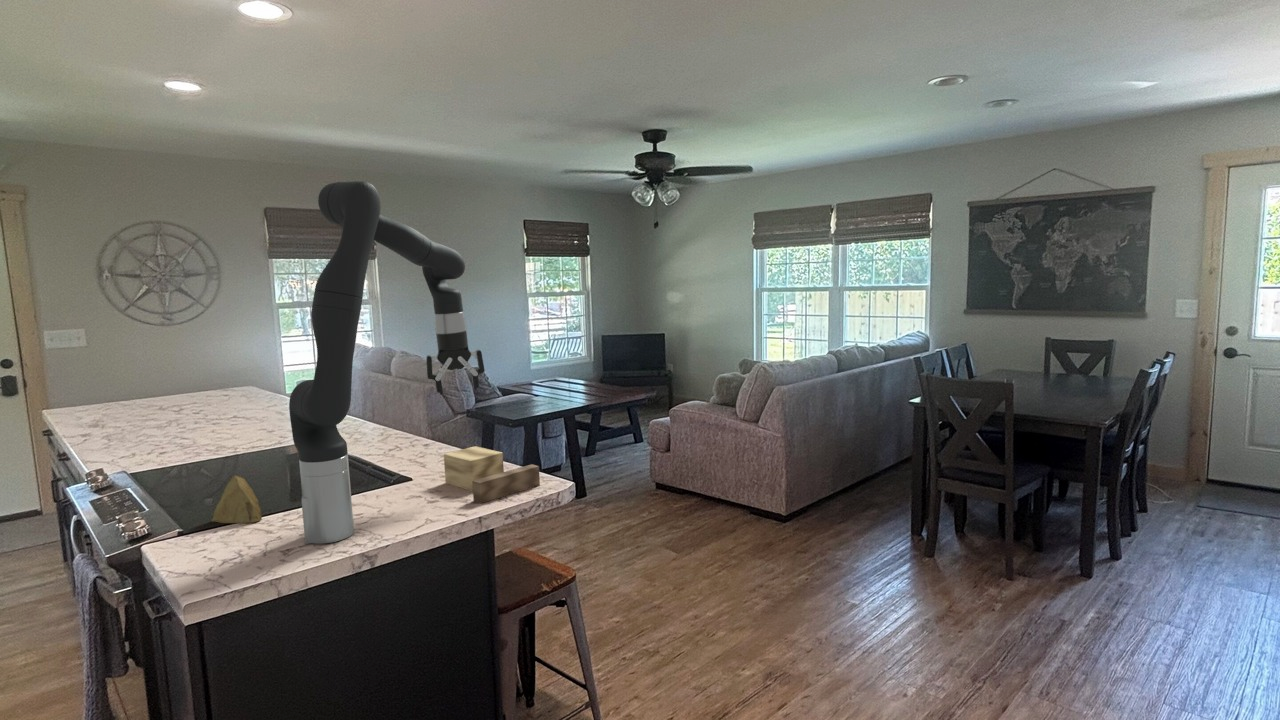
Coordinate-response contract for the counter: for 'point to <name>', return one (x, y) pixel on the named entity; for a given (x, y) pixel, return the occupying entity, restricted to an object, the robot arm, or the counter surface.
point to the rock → (237, 504)
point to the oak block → (471, 465)
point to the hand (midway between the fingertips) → (458, 392)
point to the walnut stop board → (505, 483)
